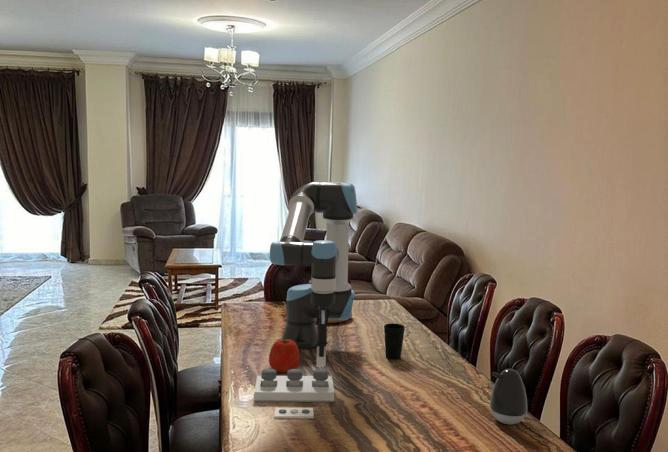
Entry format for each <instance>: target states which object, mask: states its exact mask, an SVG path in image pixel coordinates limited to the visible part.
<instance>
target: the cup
mask: <svg viewBox="0 0 668 452" xmlns="http://www.w3.org/2000/svg"><path fill="white" fill-rule="evenodd" d="M383 327H384V329H383V331H384V332H383V334H384V349H385V358H386V359H388V360H391V361H392V360H393V361H397V360H401V358H402V350H403V344H404V337H405V329H406V326H405V325H403V324H401V323H394V322H393V323H387V324H384V326H383Z"/></svg>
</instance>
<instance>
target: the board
mask: <svg viewBox="0 0 668 452" xmlns="http://www.w3.org/2000/svg"><path fill="white" fill-rule="evenodd" d="M253 397H254V399H253V402H254V403H335V389H334V381H333V376H332V375H328V379H327V380H325V387H316V380H315V379H314V378H313V375H302V379H300V382H299V387H290V379H288V378H287V375H276V379H274V385H273V387H264V379H262V378H261V375H257V376H256V381H255V387H254V393H253Z"/></svg>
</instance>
